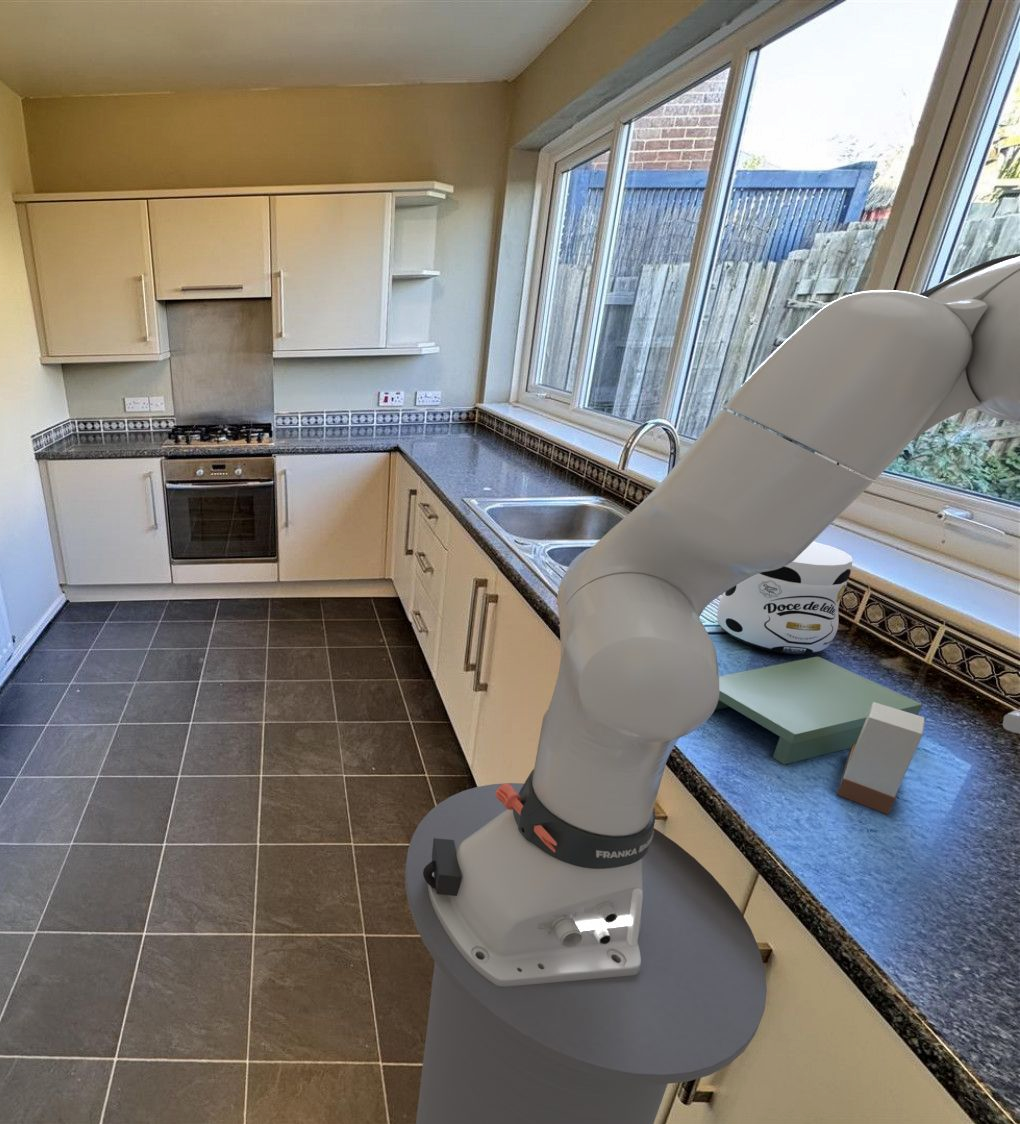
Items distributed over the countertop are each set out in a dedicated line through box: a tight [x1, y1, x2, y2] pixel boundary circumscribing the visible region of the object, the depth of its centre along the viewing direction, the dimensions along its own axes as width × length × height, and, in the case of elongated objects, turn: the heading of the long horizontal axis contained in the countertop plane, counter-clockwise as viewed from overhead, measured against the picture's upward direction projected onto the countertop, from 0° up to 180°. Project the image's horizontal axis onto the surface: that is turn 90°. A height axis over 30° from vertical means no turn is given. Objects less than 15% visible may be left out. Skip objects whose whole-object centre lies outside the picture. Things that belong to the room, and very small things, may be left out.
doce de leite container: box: [716, 541, 853, 656], centre depth 112 cm, size 17×17×18 cm
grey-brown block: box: [836, 702, 926, 815], centre depth 78 cm, size 10×5×12 cm, turn 133°
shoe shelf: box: [714, 656, 923, 766], centre depth 92 cm, size 24×14×5 cm, turn 105°
